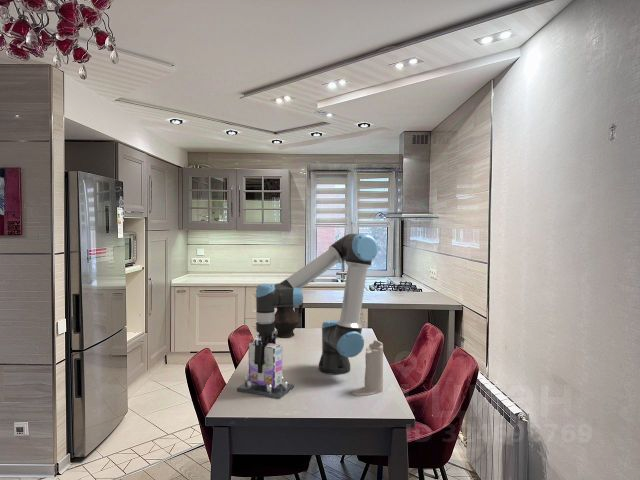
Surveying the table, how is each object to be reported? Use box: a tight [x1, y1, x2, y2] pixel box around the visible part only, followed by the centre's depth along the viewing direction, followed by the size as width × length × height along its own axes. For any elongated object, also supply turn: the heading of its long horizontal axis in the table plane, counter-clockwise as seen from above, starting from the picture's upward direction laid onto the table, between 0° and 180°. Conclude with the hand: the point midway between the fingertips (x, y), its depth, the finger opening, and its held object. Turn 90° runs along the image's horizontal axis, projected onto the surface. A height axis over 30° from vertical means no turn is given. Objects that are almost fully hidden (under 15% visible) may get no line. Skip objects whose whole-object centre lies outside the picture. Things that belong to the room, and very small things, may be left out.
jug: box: [274, 301, 304, 338], centre depth 264 cm, size 21×18×30 cm
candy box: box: [248, 341, 283, 388], centre depth 175 cm, size 14×6×16 cm, turn 58°
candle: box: [351, 339, 384, 397], centre depth 173 cm, size 7×14×20 cm, turn 119°
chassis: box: [236, 374, 295, 399], centre depth 175 cm, size 20×12×4 cm, turn 67°
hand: (265, 377), depth 175 cm, fingers closed on candy box, 6 cm apart
